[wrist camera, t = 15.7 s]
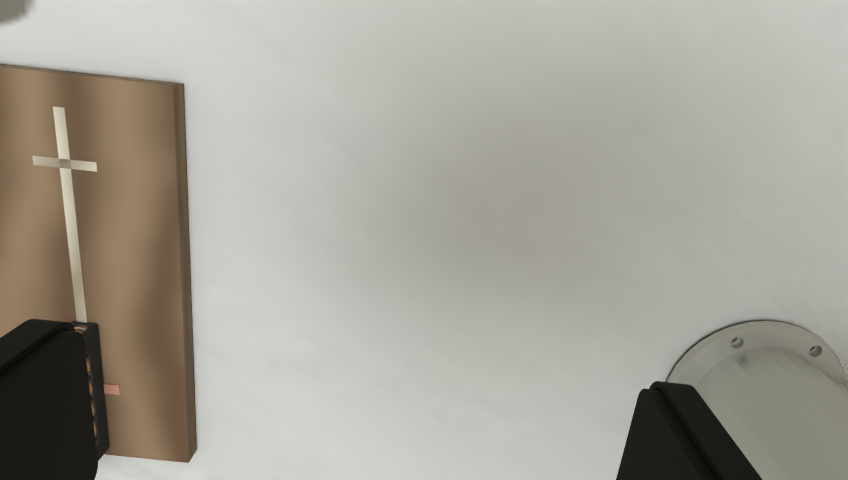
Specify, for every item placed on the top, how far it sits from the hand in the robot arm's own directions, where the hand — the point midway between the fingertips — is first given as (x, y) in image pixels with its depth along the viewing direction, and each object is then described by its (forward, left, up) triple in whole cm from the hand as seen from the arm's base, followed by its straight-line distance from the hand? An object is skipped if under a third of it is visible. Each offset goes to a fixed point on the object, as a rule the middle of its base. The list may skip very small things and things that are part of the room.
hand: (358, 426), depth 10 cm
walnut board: (+22, +12, -28) cm, 38 cm away
